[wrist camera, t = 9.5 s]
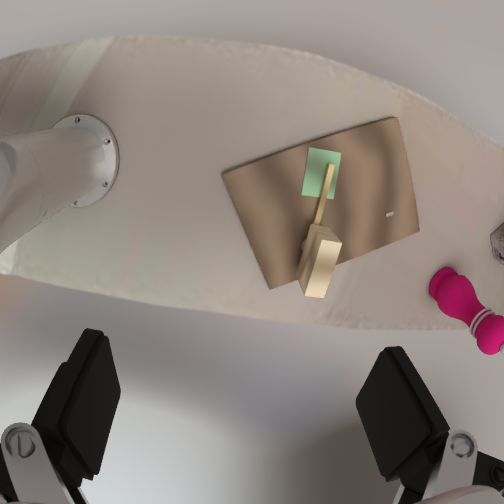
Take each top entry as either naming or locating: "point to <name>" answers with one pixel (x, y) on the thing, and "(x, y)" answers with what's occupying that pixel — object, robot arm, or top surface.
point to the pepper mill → (468, 309)
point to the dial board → (338, 199)
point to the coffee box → (498, 244)
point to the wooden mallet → (319, 250)
